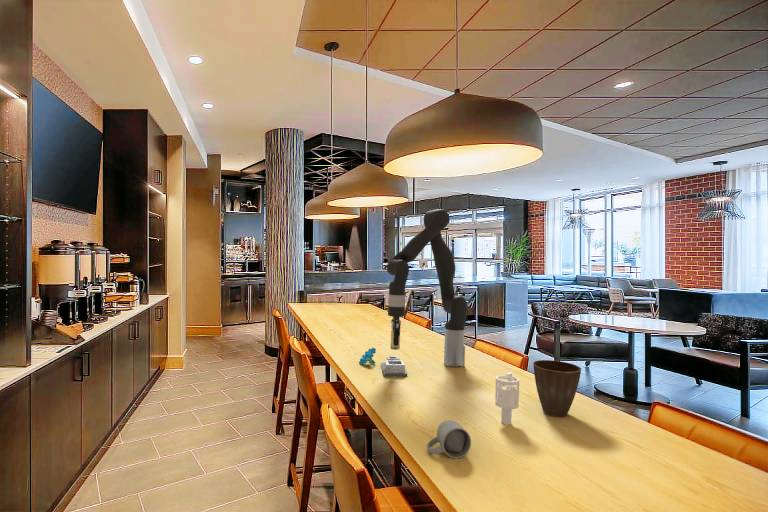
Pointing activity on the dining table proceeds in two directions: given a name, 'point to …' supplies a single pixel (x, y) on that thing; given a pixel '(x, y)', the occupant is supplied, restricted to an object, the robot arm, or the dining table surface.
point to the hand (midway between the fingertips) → (395, 343)
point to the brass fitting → (394, 347)
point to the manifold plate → (393, 367)
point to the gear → (368, 357)
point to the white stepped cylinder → (507, 396)
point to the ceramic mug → (451, 440)
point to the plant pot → (556, 385)
